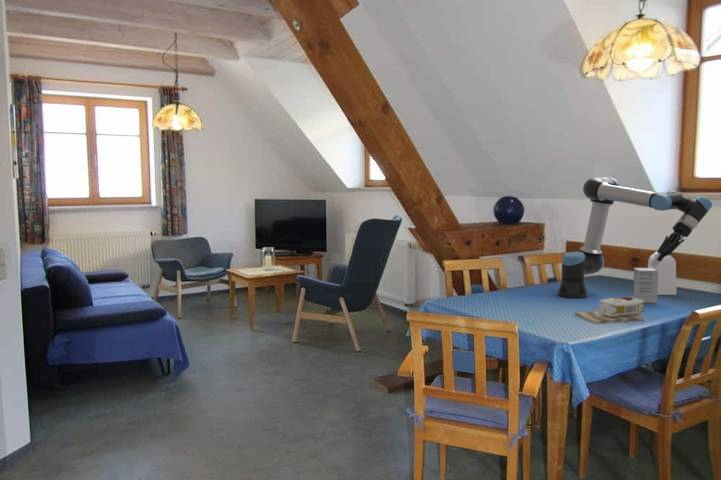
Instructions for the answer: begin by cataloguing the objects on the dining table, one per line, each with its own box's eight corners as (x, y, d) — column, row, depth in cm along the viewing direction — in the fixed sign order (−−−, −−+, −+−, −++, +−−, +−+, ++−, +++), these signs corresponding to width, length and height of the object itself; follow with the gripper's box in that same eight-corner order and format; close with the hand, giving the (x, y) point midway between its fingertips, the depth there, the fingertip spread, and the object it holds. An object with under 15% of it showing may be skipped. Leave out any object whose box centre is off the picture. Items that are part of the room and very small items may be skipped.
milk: (676, 294, 301) (678, 247, 298) (653, 294, 303) (655, 247, 300) (667, 290, 313) (669, 244, 310) (645, 290, 315) (647, 244, 312)
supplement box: (657, 303, 281) (658, 270, 279) (637, 303, 283) (639, 270, 281) (651, 299, 291) (652, 267, 289) (632, 299, 292) (633, 267, 291)
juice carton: (645, 315, 254) (610, 318, 248) (631, 311, 262) (597, 314, 256) (646, 299, 253) (611, 302, 247) (631, 295, 261) (597, 298, 256)
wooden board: (620, 312, 265) (621, 309, 265) (643, 320, 250) (643, 317, 250) (574, 315, 261) (575, 312, 261) (595, 323, 245) (595, 320, 245)
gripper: (699, 231, 253) (666, 272, 255) (683, 230, 266) (652, 269, 268) (686, 221, 254) (653, 261, 255) (671, 221, 267) (640, 260, 268)
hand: (652, 265), depth 261 cm, fingers closed
